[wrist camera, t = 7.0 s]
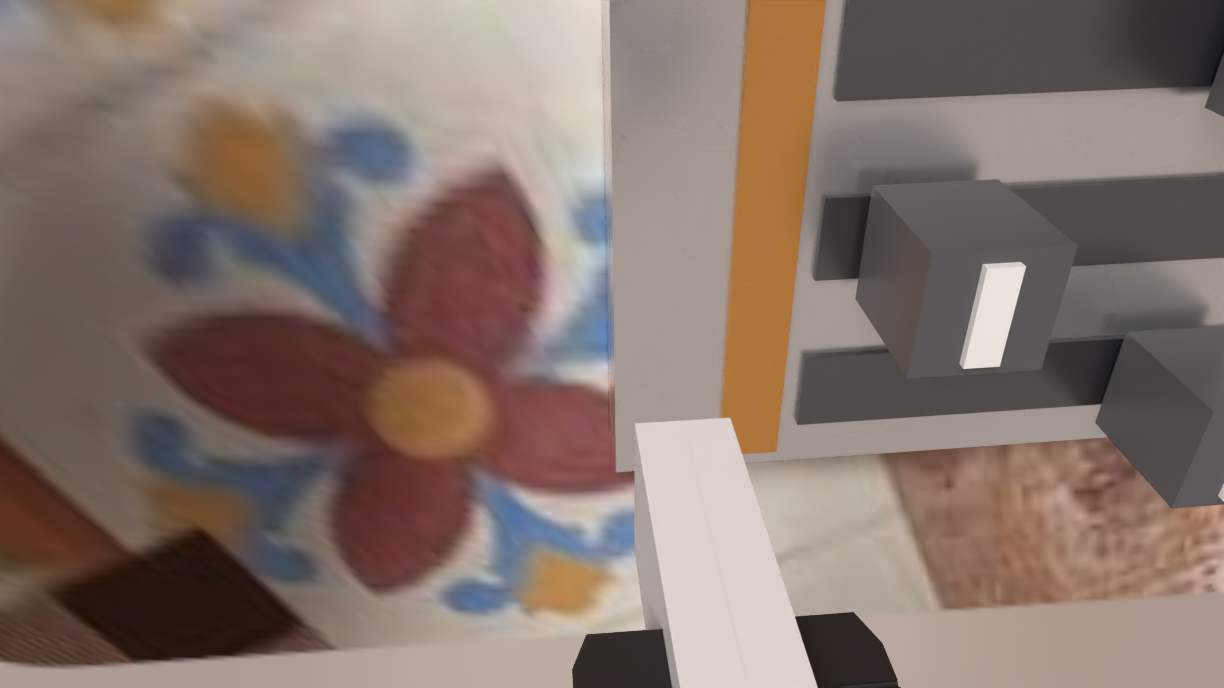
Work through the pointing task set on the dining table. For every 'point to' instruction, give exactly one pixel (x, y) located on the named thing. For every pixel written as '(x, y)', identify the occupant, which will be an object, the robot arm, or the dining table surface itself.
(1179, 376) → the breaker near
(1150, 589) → the dining table surface
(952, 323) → the breaker
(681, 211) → the panel
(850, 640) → the robot arm
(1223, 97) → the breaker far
